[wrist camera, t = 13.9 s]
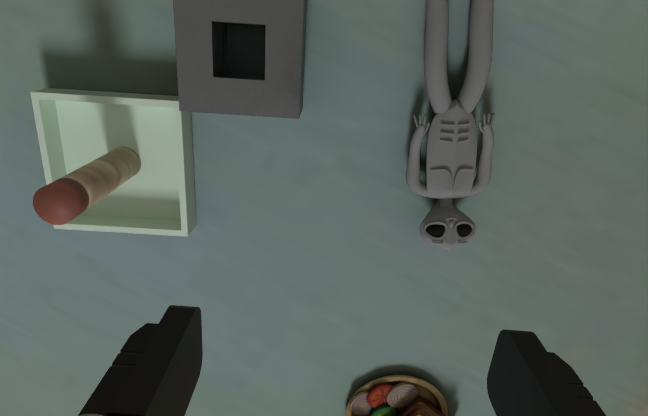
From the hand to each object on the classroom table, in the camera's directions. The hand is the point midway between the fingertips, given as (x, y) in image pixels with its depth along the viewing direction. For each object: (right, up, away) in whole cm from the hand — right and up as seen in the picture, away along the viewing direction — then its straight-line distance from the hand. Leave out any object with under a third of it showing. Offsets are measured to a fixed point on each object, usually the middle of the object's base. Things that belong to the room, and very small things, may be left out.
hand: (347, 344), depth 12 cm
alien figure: (+11, +12, +31) cm, 35 cm away
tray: (-20, +8, +32) cm, 38 cm away
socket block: (-7, +18, +28) cm, 34 cm away
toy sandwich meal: (+9, -21, +44) cm, 49 cm away
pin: (-20, +8, +31) cm, 38 cm away
